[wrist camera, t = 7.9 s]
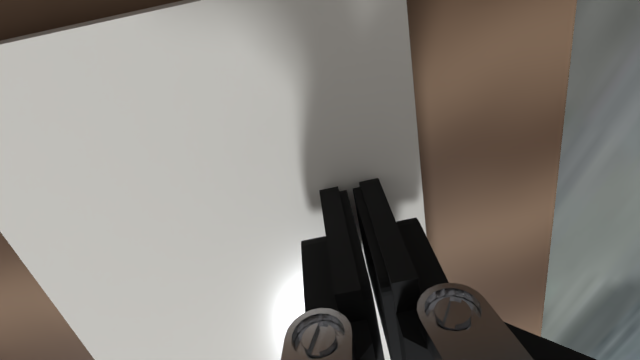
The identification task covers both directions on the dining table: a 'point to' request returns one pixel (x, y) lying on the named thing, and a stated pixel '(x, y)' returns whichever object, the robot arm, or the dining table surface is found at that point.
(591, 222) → the dining table surface
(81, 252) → the tile
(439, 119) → the board
